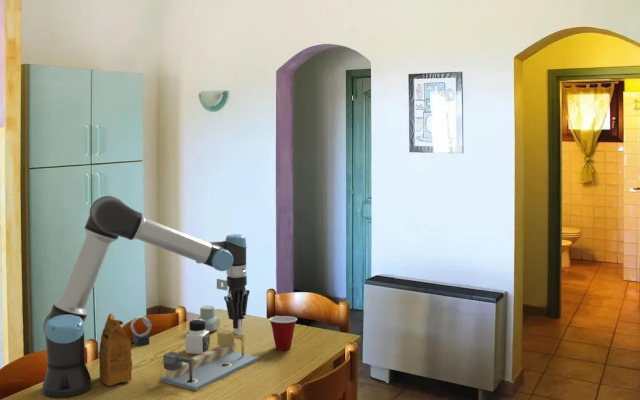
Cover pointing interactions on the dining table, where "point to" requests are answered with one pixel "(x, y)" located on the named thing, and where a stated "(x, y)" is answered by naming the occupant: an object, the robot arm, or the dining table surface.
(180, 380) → the plate
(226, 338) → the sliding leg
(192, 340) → the medicine bottle
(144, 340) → the grey ring on base
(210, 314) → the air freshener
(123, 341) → the coffee package
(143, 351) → the dining table surface
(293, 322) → the plastic cup
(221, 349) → the trammel beam
